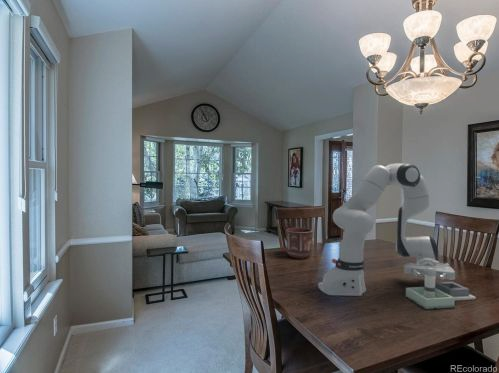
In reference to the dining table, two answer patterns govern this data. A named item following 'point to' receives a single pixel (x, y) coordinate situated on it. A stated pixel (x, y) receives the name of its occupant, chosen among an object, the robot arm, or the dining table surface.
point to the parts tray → (438, 302)
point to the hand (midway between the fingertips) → (429, 276)
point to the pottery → (299, 242)
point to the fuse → (429, 282)
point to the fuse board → (454, 290)
